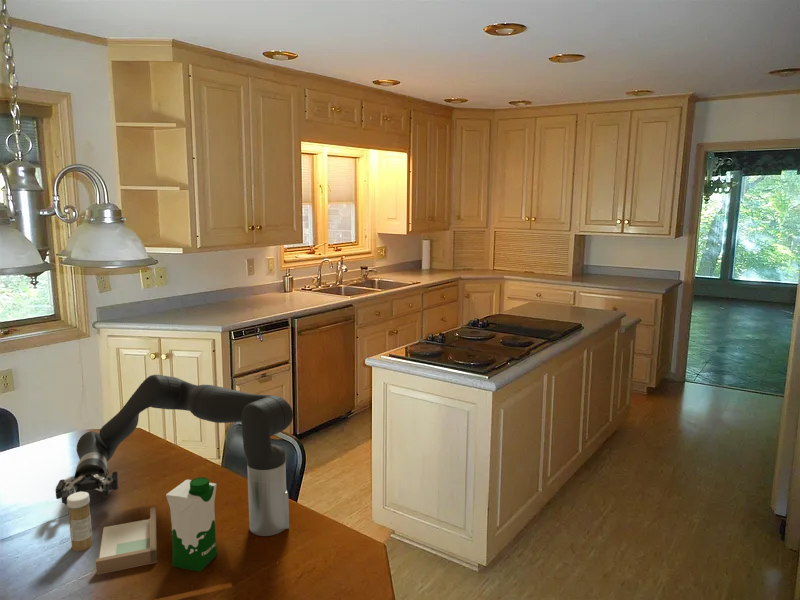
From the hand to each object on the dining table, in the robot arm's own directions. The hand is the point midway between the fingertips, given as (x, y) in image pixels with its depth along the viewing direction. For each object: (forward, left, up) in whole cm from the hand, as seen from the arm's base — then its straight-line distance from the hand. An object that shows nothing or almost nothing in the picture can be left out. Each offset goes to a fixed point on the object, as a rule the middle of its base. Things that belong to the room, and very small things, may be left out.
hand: (85, 497), depth 148 cm
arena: (-10, +15, -7) cm, 19 cm away
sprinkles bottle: (0, +12, -7) cm, 14 cm away
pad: (-11, +18, -6) cm, 22 cm away
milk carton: (-24, +27, -7) cm, 37 cm away
